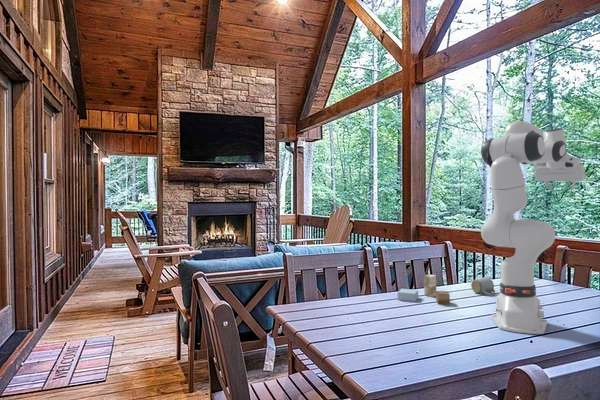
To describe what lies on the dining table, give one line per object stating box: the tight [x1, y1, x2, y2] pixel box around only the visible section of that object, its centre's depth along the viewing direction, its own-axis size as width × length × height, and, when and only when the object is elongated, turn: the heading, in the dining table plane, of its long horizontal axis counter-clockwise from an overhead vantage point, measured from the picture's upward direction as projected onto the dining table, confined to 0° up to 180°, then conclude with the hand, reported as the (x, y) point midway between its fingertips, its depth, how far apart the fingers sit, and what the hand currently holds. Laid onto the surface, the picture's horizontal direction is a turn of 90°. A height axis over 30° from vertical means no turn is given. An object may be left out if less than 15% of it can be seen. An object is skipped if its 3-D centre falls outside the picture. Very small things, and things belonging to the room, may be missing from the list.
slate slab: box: [397, 288, 419, 302], centre depth 181 cm, size 8×8×4 cm
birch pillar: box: [423, 273, 437, 298], centre depth 186 cm, size 4×4×10 cm
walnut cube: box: [435, 290, 451, 306], centre depth 172 cm, size 5×5×5 cm
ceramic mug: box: [470, 276, 496, 297], centre depth 187 cm, size 11×8×8 cm
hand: (560, 188), depth 180 cm, fingers open, 8 cm apart
